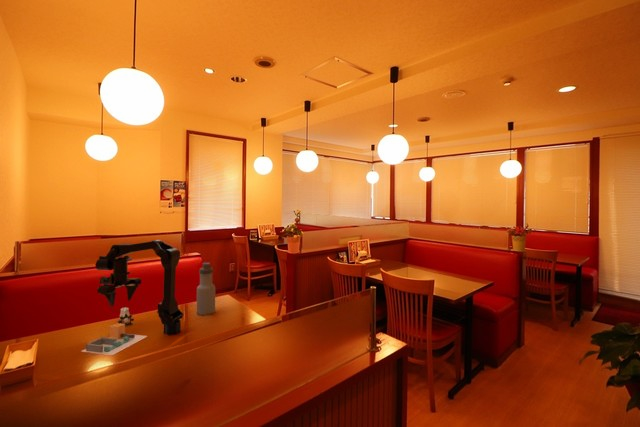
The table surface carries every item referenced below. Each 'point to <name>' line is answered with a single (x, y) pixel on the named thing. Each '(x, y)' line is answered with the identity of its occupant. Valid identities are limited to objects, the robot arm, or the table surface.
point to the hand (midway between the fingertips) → (120, 303)
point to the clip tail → (108, 348)
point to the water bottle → (206, 291)
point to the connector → (119, 331)
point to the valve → (125, 316)
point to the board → (119, 348)
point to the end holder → (99, 344)
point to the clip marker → (123, 341)
